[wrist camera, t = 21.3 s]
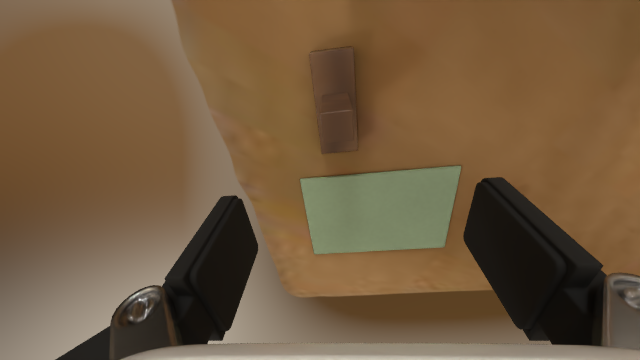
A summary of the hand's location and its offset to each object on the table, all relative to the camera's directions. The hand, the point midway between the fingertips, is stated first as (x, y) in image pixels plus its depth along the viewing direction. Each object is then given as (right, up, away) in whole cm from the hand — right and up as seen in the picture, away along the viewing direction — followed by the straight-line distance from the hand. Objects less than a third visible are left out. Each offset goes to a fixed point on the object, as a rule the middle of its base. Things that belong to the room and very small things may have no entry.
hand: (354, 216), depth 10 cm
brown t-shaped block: (0, +10, +16) cm, 19 cm away
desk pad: (+7, -3, +24) cm, 25 cm away
